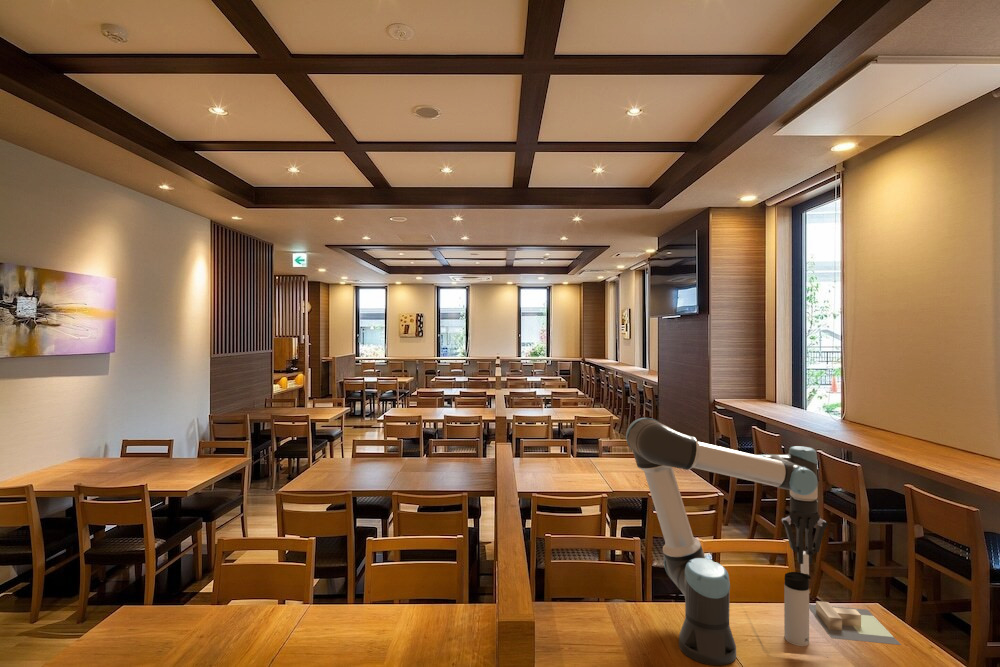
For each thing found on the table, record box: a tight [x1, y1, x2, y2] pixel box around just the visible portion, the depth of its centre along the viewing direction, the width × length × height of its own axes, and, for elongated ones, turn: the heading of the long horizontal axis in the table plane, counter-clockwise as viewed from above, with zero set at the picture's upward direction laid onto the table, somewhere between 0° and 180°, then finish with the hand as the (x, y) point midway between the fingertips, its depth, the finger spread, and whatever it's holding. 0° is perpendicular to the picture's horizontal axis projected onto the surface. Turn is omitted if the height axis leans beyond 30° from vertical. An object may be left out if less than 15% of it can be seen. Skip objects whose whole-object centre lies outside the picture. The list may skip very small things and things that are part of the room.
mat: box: [809, 603, 902, 646], centre depth 164 cm, size 18×20×1 cm
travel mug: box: [783, 571, 811, 647], centre depth 155 cm, size 6×7×20 cm
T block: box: [815, 600, 861, 630], centre depth 164 cm, size 10×10×4 cm
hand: (804, 573), depth 166 cm, fingers closed
